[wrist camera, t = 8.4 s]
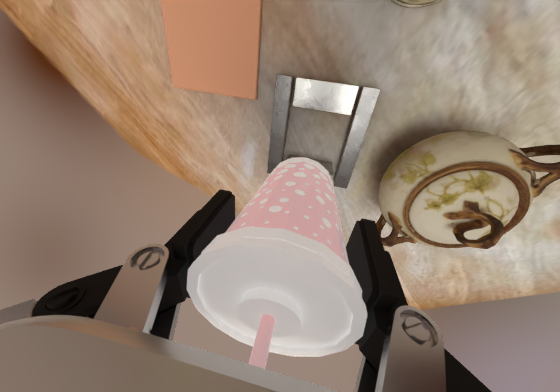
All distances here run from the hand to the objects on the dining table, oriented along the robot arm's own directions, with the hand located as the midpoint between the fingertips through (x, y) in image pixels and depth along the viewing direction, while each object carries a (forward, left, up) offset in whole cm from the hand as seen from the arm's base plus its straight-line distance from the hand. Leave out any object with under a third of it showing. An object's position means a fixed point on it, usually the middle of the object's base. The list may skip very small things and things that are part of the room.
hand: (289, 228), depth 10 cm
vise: (0, +1, -23) cm, 23 cm away
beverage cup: (0, 0, -5) cm, 5 cm away
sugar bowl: (-17, +3, -24) cm, 30 cm away
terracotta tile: (+16, -10, -23) cm, 30 cm away
